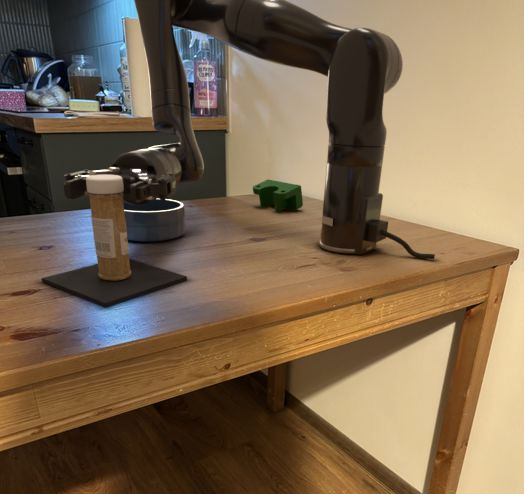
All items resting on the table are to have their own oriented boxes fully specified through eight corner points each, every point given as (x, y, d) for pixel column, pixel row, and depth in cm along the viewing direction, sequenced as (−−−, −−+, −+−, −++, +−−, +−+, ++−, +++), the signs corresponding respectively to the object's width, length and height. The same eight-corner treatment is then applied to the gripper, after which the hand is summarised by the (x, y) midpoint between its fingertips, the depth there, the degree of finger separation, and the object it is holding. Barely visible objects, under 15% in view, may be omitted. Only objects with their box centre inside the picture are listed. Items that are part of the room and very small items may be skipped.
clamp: (261, 224, 123) (246, 189, 121) (278, 215, 126) (263, 181, 124) (291, 213, 114) (275, 175, 111) (308, 204, 117) (293, 167, 114)
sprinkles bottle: (138, 276, 70) (129, 176, 64) (110, 284, 67) (98, 179, 61) (119, 269, 72) (109, 172, 66) (91, 276, 69) (78, 175, 63)
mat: (187, 280, 71) (187, 276, 71) (105, 307, 61) (105, 303, 61) (124, 260, 79) (123, 257, 78) (42, 282, 68) (41, 278, 68)
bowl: (199, 234, 95) (198, 205, 93) (146, 247, 86) (143, 215, 83) (152, 223, 102) (150, 195, 100) (98, 234, 93) (95, 204, 90)
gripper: (97, 147, 76) (41, 158, 62) (188, 151, 75) (153, 163, 60) (102, 198, 79) (51, 219, 65) (189, 203, 78) (157, 226, 63)
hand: (100, 192), depth 63 cm, fingers open, 8 cm apart
